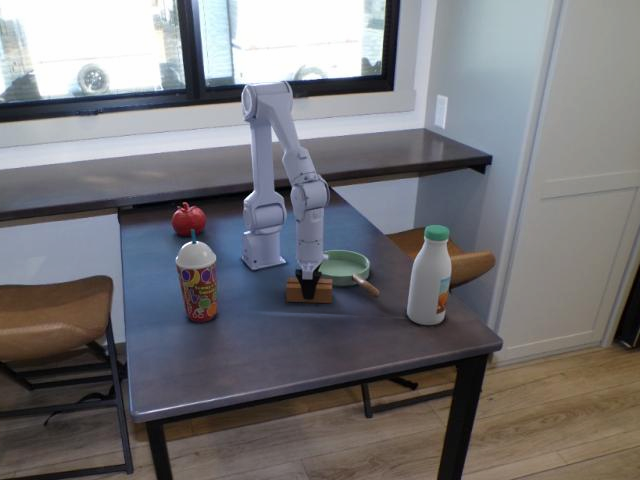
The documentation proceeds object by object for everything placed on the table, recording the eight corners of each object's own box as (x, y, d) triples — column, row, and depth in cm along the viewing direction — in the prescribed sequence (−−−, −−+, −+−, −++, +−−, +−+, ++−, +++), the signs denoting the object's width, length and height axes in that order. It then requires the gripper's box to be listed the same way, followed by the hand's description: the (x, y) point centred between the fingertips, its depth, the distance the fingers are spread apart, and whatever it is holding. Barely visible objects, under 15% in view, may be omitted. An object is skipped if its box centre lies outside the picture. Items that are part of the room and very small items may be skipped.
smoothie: (205, 329, 108) (195, 241, 98) (175, 319, 112) (162, 233, 102) (229, 311, 114) (222, 226, 104) (199, 302, 118) (190, 219, 108)
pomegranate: (213, 233, 153) (210, 203, 148) (182, 241, 148) (178, 211, 144) (197, 223, 160) (194, 194, 156) (167, 231, 155) (163, 201, 151)
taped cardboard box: (286, 301, 116) (286, 287, 114) (288, 291, 120) (288, 277, 118) (331, 303, 115) (331, 288, 113) (331, 293, 119) (332, 278, 117)
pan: (326, 292, 120) (327, 281, 119) (299, 267, 132) (299, 256, 131) (380, 279, 125) (381, 268, 124) (349, 256, 137) (350, 245, 135)
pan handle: (350, 280, 122) (350, 273, 121) (357, 278, 123) (357, 271, 122) (374, 299, 114) (374, 292, 113) (381, 297, 114) (381, 290, 114)
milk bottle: (423, 330, 106) (436, 239, 96) (398, 313, 112) (408, 226, 102) (452, 320, 109) (467, 231, 99) (426, 303, 115) (438, 218, 105)
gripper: (327, 252, 103) (326, 310, 110) (329, 224, 116) (328, 278, 123) (292, 251, 104) (292, 309, 111) (298, 224, 117) (298, 277, 124)
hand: (309, 293), depth 117 cm, fingers closed on taped cardboard box, 4 cm apart
